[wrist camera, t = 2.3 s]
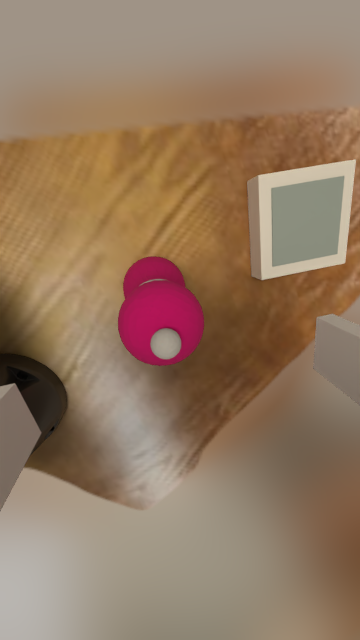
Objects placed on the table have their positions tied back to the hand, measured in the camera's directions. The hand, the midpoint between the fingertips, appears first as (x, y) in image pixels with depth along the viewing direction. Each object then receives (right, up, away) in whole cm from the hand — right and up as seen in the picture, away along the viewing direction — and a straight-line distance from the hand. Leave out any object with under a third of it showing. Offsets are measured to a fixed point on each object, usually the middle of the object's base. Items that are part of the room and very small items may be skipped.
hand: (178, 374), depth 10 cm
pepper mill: (-4, +8, +21) cm, 23 cm away
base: (+15, +15, +21) cm, 30 cm away
